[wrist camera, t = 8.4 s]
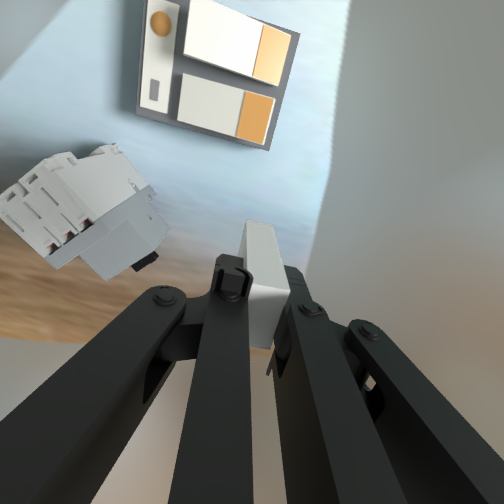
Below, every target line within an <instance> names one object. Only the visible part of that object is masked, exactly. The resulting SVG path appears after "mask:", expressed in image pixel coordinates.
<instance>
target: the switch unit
mask: <svg viewBox="0 0 504 504" xmlns="http://www.w3.org/2000/svg"><path fill="white" fill-rule="evenodd" d="M189 3H190V0H144V4H143V18H142V33H141V47H140V61H139V75H138V89H137V104H136V115H138V116H142V117H146V118H149V119H153V120H157V121H160V122H164V123H168V124H171V125H175V126H179V127H182V128H186V129H190V130H193V131H197V132H201V133H204V134H208V135H212V136H215V137H219V138H223V139H226V140H230V141H233V142H237V143H241V144H244V145H248V146H252V147H255V148H259V149H263V150H266V151H269V149H270V145H271V142H272V138H273V134H274V130H275V127H276V123H277V119H278V116H279V112H280V108H281V104H282V101H283V97H284V93H285V89H286V86H287V82H288V78H289V74H290V71H291V67H292V63H293V60H294V56H295V52H296V48H297V45H298V41H299V37H300V33H297V32H294V31H291V30H288V29H285V28H282V27H279V26H276V25H273V24H270V23H267V22H264V21H261V20H258V19H255V18H253V19H255V20H257V21H259V22H262V23H264V24H266V25H269V26H271V27H273V28H275V29H278V30H280V31H282V32H285V33H287V34H289V35H291V39H290V43H289V47H288V51H287V54H286V58H285V62H284V66H283V70H282V74H281V78H280V82H279V85H278V86H275V87H274V86H271V85H268V84H265V83H262V82H259V81H256V80H254V79H251V78H248V77H245V76H242V75H239V74H236V73H234V72H231V71H228V70H225V69H222V68H219V67H216V66H213V65H211V64H208V63H205V62H202V61H199V60H196V59H193V58H191V57H188V56H185V55H183V51H184V43H185V35H186V27H187V19H188V11H189ZM243 15H244V14H243ZM246 16H247V15H246ZM248 17H249V16H248ZM250 18H252V17H250ZM183 73H185V74H188V75H192V76H196V77H199V78H203V79H206V80H210V81H214V82H217V83H221V84H225V85H228V86H232V87H235V88H239V89H243V90H246V91H250V92H254V93H257V94H261V95H264V96H268V97H272V98H275V104H274V108H273V112H272V116H271V120H270V124H269V127H268V131H267V135H266V139H265V143H264V145H261V144H257V143H254V142H251V141H247V140H244V139H240V138H237V137H233V136H230V135H226V134H223V133H220V132H216V131H213V130H209V129H206V128H202V127H199V126H195V125H192V124H189V123H185V122H182V121H178V120H177V118H178V110H179V102H180V94H181V87H182V79H183Z"/></svg>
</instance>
